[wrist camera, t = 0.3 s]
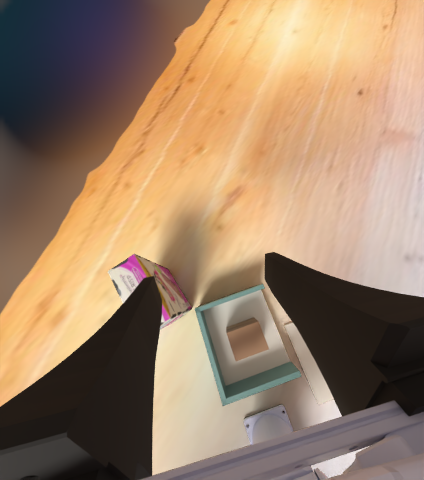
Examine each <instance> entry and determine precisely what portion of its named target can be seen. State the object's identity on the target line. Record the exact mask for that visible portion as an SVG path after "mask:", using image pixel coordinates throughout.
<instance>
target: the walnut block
mask: <svg viewBox="0 0 424 480" xmlns="http://www.w3.org/2000/svg"><path fill="white" fill-rule="evenodd" d="M226 333H227V336H228V340H229V343H230V346H231V349H232V352H233V355H234V358H235V361H239V360H241V359H244V358H247V357H249V356H252V355H255V354H258V353H260V352H263V351H266V350H268V349H269V347H268V345H267V342H266V339H265V337H264V334H263V332H262V329H261V326H260V324H259V321H258V320H256V319H255V318H254V317H253V318H250V319H248V320H245V321H242V322H240V323H237V324H234V325H231V326H229V327H226Z"/></svg>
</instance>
